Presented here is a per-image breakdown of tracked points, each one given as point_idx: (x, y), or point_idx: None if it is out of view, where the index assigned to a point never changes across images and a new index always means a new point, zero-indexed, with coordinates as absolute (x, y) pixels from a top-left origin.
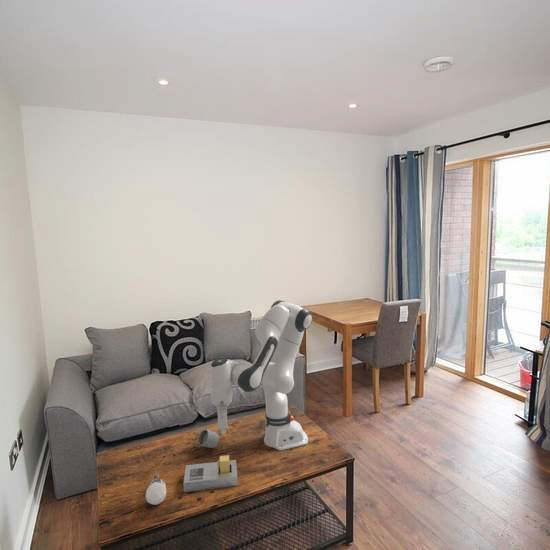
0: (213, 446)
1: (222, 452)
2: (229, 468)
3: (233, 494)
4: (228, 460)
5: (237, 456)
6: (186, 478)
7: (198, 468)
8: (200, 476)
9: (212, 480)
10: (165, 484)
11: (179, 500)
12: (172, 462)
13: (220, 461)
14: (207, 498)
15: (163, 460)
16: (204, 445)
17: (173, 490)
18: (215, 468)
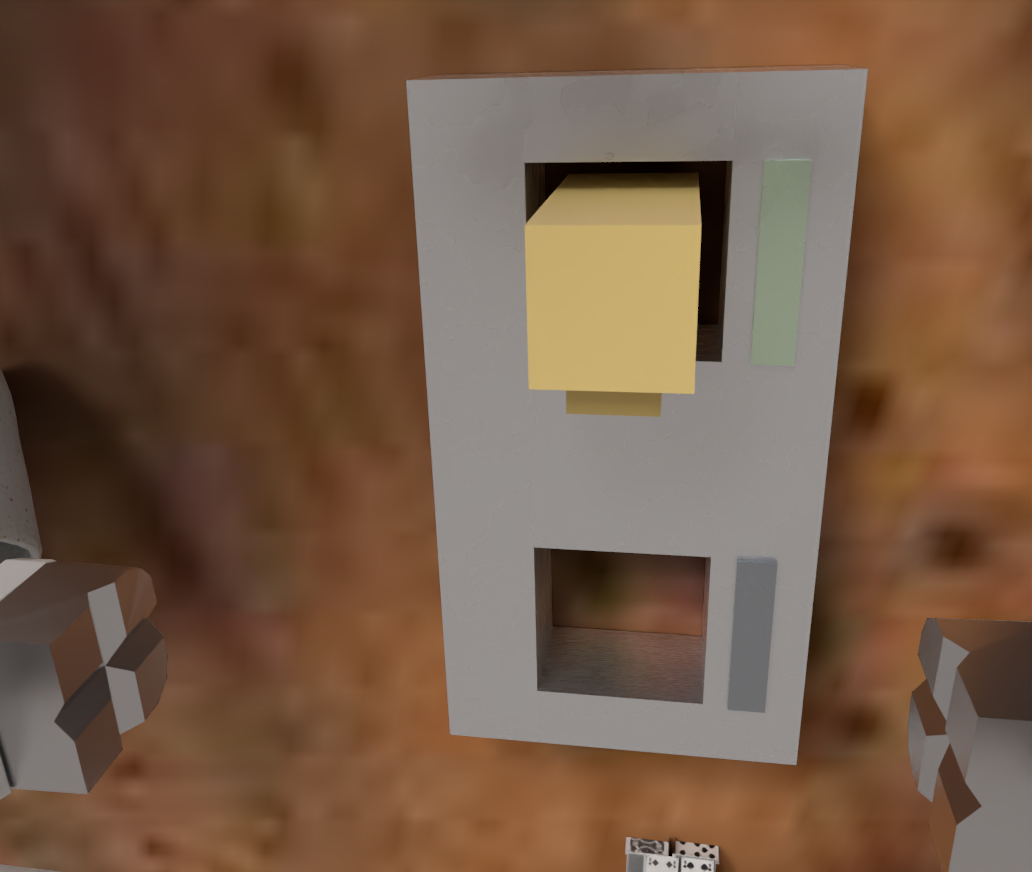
0: (6, 395)
1: (77, 264)
2: (698, 202)
3: (1021, 132)
4: (697, 240)
5: (167, 49)
6: (716, 734)
7: (534, 604)
8: (716, 587)
9: (828, 440)
10: (652, 861)
11: None
12: (258, 784)
13: (692, 382)
14: (981, 461)
15: (221, 854)
16: (36, 526)
17: (727, 778)
18: None
